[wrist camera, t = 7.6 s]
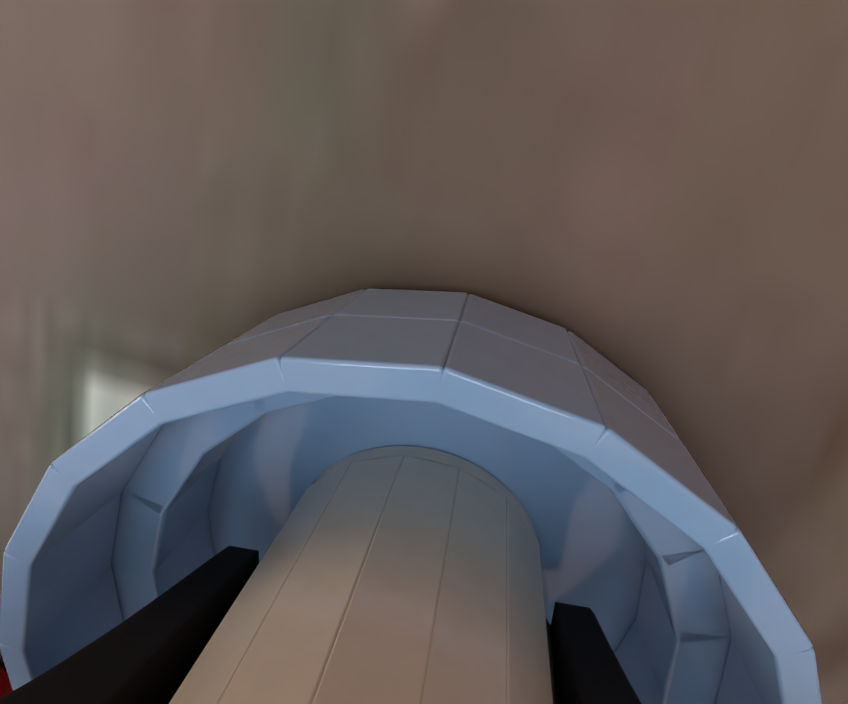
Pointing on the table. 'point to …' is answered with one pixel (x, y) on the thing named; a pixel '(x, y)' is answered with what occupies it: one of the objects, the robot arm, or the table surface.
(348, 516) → the cup
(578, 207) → the table surface
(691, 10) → the table surface
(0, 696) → the plastic cup
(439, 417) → the bowl
